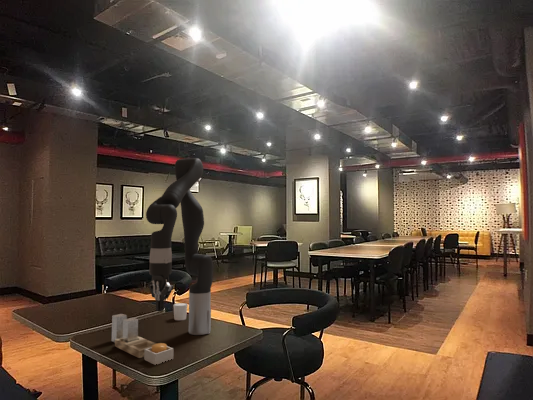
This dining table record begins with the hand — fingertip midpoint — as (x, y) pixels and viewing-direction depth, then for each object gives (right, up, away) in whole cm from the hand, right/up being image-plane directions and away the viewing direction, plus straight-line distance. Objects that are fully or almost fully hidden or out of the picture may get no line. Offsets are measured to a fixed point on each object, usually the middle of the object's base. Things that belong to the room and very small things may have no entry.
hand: (159, 310), depth 123 cm
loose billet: (-22, -18, +18) cm, 33 cm away
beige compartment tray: (-11, -17, +9) cm, 22 cm away
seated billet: (-15, -17, +12) cm, 26 cm away
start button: (0, -14, -1) cm, 14 cm away
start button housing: (0, -16, -1) cm, 17 cm away
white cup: (-5, -20, +50) cm, 54 cm away
